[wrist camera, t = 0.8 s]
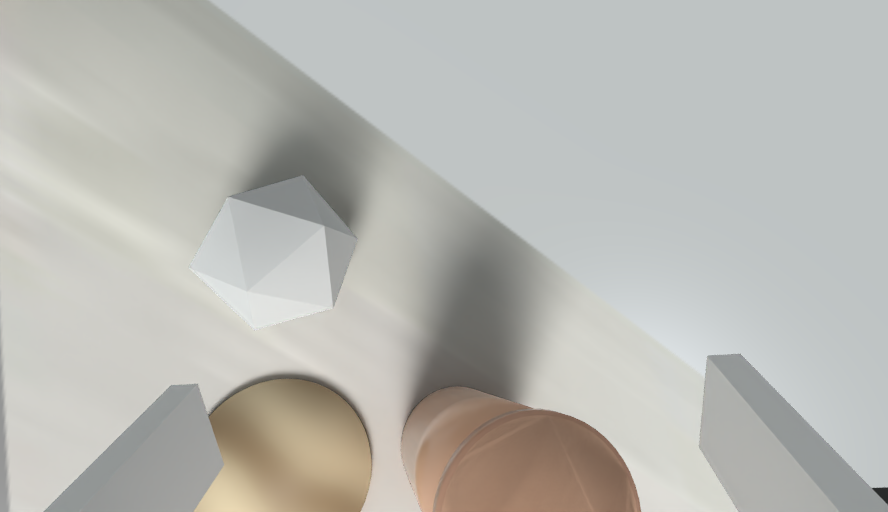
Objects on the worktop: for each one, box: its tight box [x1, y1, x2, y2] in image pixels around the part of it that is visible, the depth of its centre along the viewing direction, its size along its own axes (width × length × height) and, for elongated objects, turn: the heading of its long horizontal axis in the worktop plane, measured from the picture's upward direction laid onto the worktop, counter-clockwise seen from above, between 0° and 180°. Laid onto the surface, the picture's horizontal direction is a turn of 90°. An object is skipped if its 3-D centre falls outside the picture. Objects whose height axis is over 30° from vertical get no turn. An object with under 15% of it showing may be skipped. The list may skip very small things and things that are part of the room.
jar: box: [401, 386, 641, 512], centre depth 24 cm, size 8×8×15 cm
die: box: [189, 175, 358, 330], centre depth 28 cm, size 8×9×10 cm
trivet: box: [194, 379, 371, 512], centre depth 29 cm, size 11×11×1 cm
